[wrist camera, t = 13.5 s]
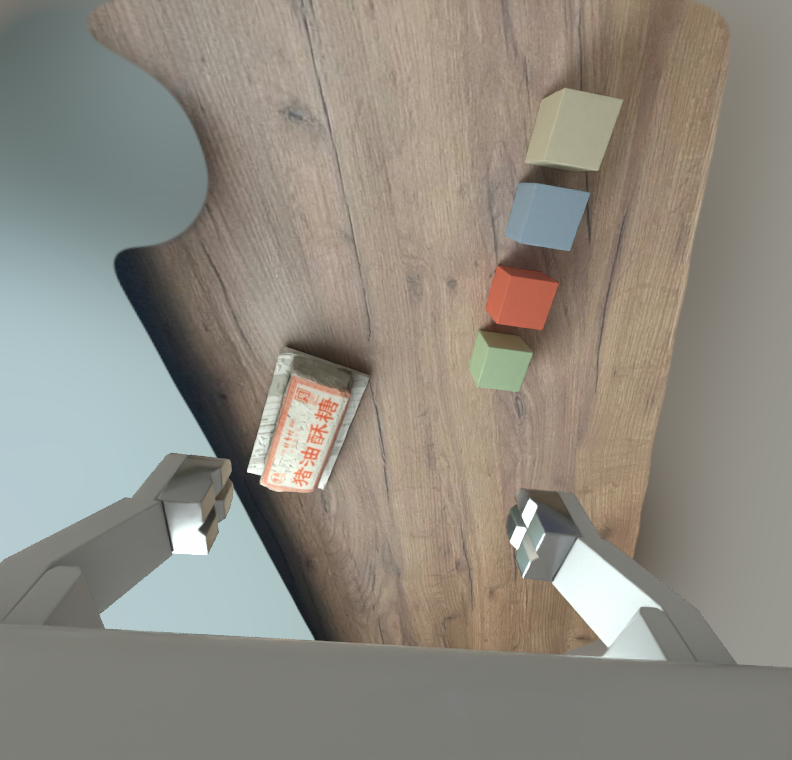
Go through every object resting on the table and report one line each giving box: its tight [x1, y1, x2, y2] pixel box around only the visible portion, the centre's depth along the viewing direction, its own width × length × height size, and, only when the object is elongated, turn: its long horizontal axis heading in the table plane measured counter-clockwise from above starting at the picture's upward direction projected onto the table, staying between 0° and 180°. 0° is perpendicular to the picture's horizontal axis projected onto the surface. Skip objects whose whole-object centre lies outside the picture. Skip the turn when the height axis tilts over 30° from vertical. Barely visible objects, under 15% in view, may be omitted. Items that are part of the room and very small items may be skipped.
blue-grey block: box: [505, 183, 590, 251], centre depth 32 cm, size 4×4×4 cm
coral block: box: [486, 265, 559, 330], centre depth 35 cm, size 4×4×4 cm
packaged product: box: [247, 347, 370, 493], centre depth 42 cm, size 18×5×10 cm
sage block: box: [469, 330, 533, 392], centre depth 39 cm, size 4×4×4 cm
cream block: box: [525, 88, 624, 172], centre depth 29 cm, size 4×4×4 cm
